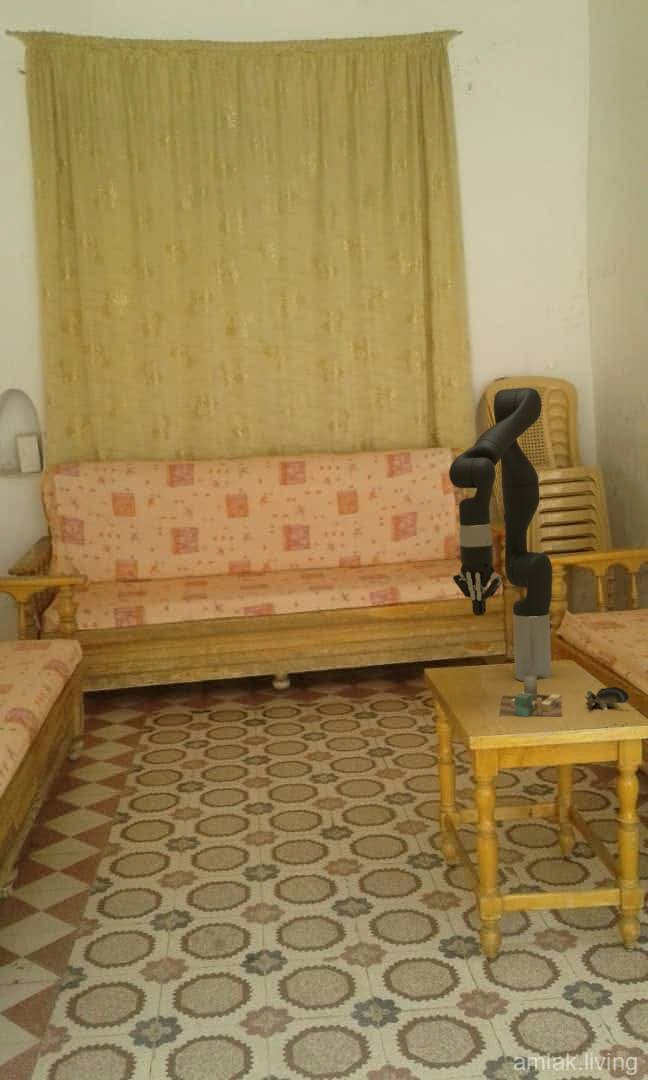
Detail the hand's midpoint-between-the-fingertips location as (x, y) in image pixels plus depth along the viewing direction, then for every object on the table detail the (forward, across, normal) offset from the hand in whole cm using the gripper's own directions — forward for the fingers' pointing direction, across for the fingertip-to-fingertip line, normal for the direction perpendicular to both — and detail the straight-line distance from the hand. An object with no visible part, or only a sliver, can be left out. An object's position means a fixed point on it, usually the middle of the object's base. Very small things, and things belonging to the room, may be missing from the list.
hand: (479, 615), depth 249 cm
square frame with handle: (+21, +13, +1) cm, 25 cm away
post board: (+22, +11, +2) cm, 25 cm away
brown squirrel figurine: (+23, +27, +9) cm, 37 cm away
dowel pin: (+21, +17, -4) cm, 27 cm away
